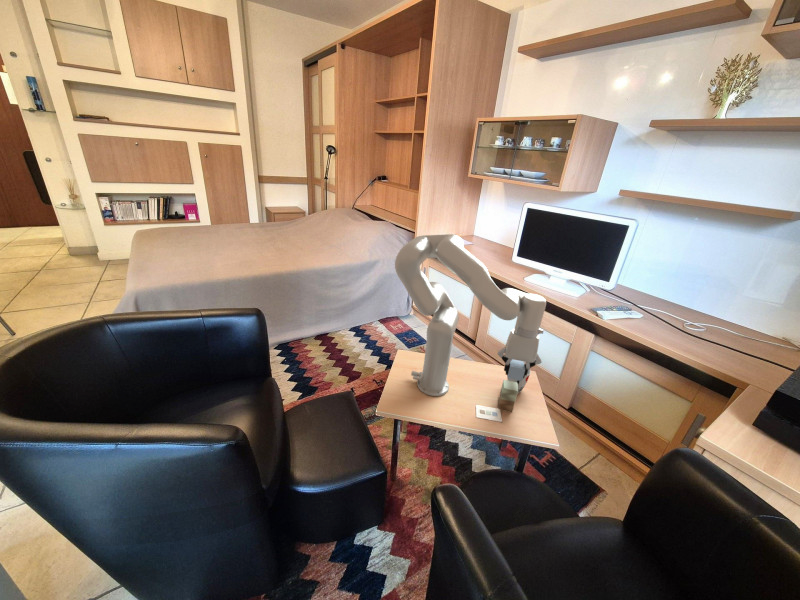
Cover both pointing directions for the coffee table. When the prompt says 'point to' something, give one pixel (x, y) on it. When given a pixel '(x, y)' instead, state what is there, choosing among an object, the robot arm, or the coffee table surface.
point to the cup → (521, 383)
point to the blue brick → (516, 370)
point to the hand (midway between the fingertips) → (514, 373)
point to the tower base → (505, 404)
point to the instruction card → (488, 413)
